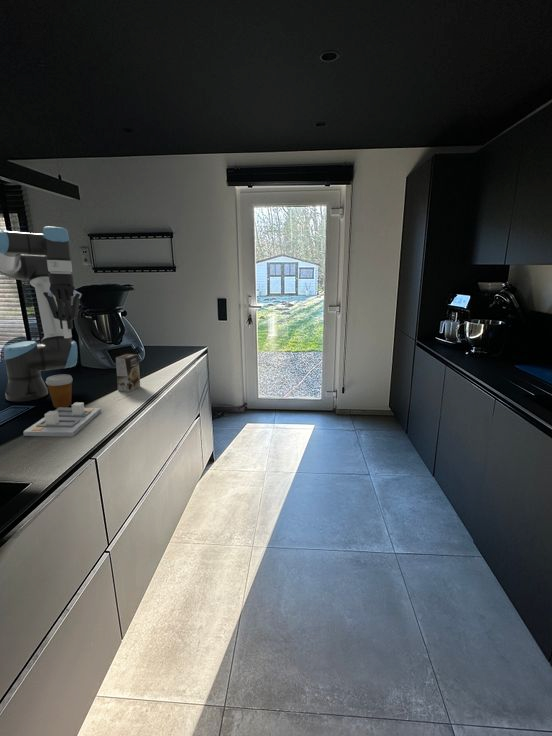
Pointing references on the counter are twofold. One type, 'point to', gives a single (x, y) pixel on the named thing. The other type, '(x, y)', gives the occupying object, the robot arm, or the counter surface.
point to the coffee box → (128, 372)
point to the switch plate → (63, 423)
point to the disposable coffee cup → (60, 389)
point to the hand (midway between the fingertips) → (68, 337)
